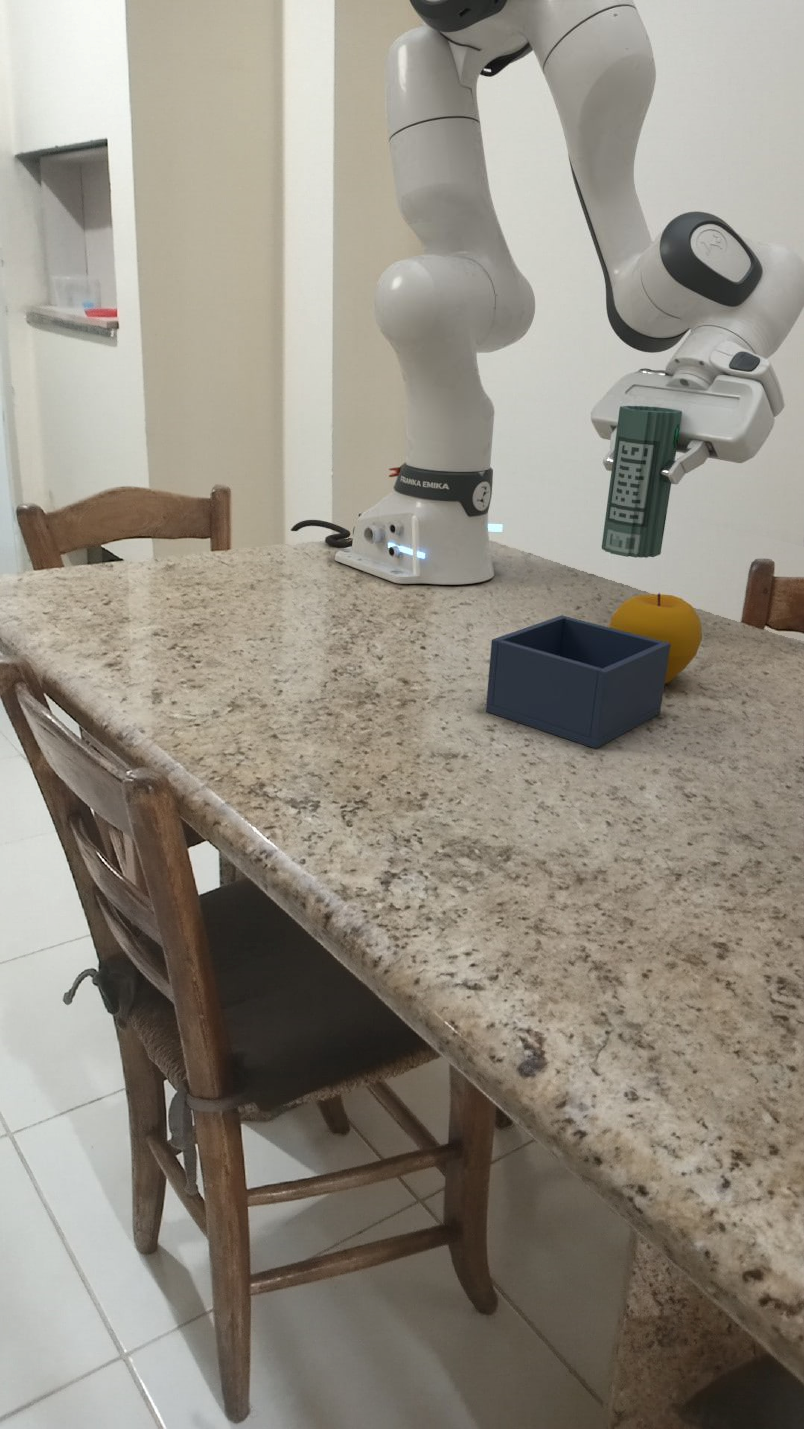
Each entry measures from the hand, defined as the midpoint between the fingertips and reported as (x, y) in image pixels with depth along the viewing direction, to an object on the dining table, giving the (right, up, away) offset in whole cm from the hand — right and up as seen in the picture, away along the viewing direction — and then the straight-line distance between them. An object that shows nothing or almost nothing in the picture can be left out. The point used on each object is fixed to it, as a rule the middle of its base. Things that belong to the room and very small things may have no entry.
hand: (638, 473), depth 109 cm
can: (0, -8, +4) cm, 9 cm away
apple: (-1, -22, -7) cm, 23 cm away
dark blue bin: (-10, -25, -16) cm, 32 cm away
